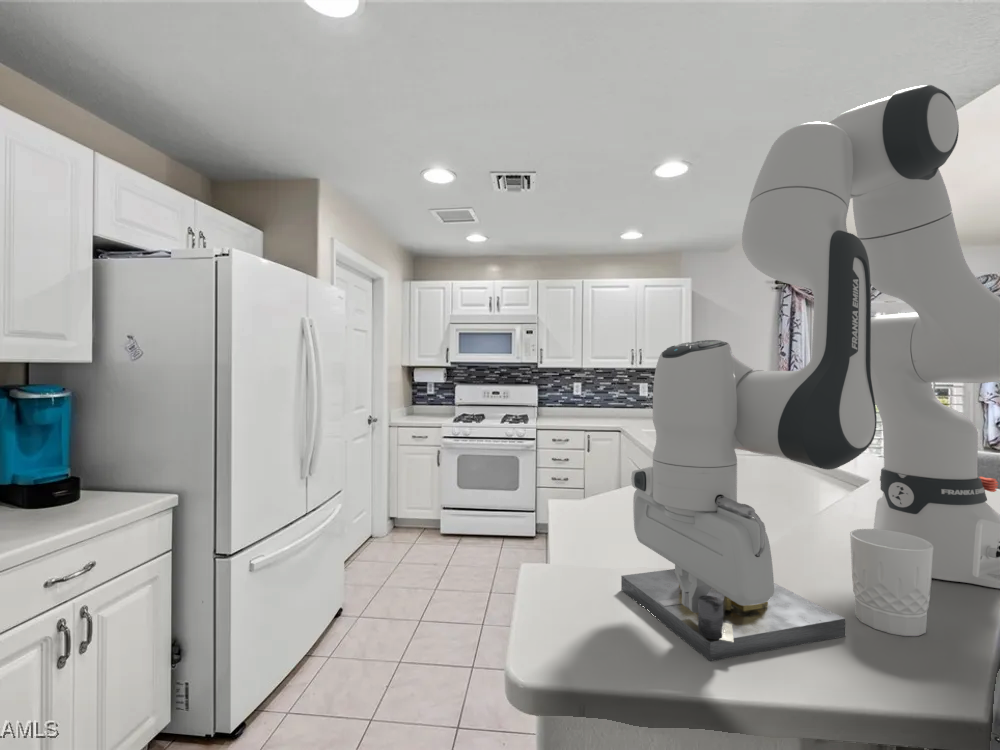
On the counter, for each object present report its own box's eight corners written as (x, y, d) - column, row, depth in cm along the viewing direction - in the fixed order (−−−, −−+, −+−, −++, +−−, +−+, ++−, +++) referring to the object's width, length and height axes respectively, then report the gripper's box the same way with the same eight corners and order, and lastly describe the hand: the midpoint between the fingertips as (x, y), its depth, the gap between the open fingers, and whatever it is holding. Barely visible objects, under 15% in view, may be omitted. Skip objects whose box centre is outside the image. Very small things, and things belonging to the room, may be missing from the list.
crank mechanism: (731, 575, 76) (731, 527, 76) (851, 639, 58) (851, 576, 58) (621, 590, 71) (621, 538, 70) (714, 665, 53) (714, 596, 53)
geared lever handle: (687, 570, 71) (687, 544, 71) (769, 585, 66) (769, 557, 66) (659, 628, 55) (659, 594, 55) (764, 653, 50) (764, 616, 50)
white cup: (840, 620, 62) (840, 537, 62) (861, 601, 67) (861, 524, 67) (923, 647, 56) (924, 555, 56) (939, 624, 61) (940, 540, 61)
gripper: (791, 508, 49) (791, 654, 49) (667, 467, 68) (667, 571, 69) (734, 513, 47) (734, 664, 47) (624, 470, 67) (624, 576, 67)
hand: (693, 609), depth 58 cm, fingers closed
